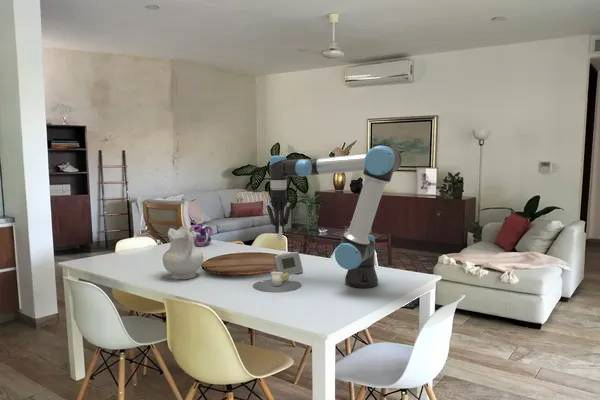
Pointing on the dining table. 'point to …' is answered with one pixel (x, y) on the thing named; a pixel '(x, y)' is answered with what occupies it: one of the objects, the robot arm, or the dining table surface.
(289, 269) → the digital clock
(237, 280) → the dining table surface
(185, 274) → the ceramic pitcher
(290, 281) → the grey flat disc
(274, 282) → the peg
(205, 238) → the sculpture
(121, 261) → the dining table surface
